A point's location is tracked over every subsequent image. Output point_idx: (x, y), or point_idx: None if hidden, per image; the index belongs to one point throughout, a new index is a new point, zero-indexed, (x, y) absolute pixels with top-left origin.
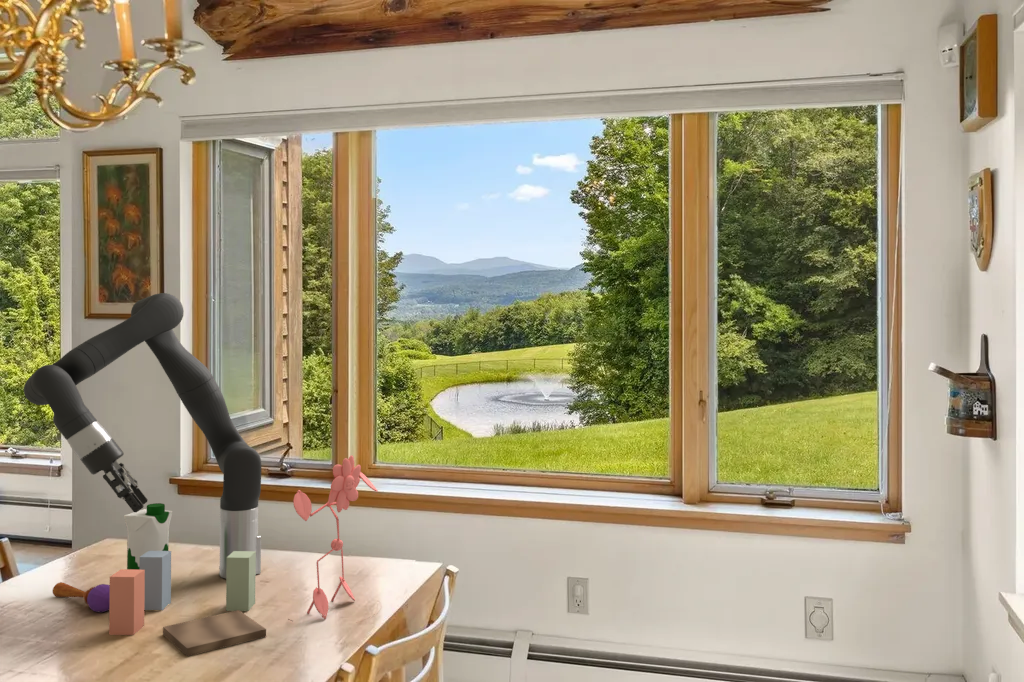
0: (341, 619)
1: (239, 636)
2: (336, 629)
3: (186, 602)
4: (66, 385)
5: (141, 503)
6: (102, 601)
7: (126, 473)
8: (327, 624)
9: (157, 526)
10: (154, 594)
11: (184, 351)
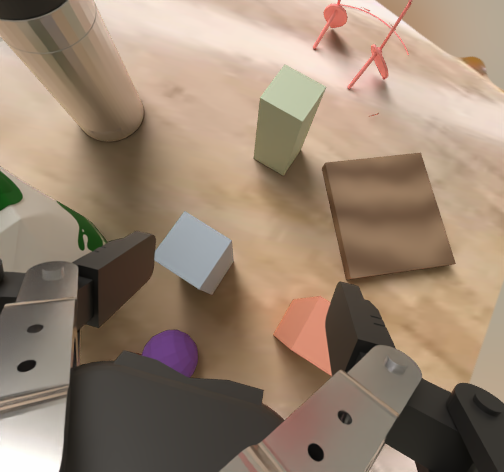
0: (388, 64)
1: (431, 189)
2: (421, 80)
3: (212, 218)
4: None
5: (360, 293)
6: (197, 361)
7: (256, 452)
8: (399, 83)
9: (34, 208)
10: (225, 268)
11: None
